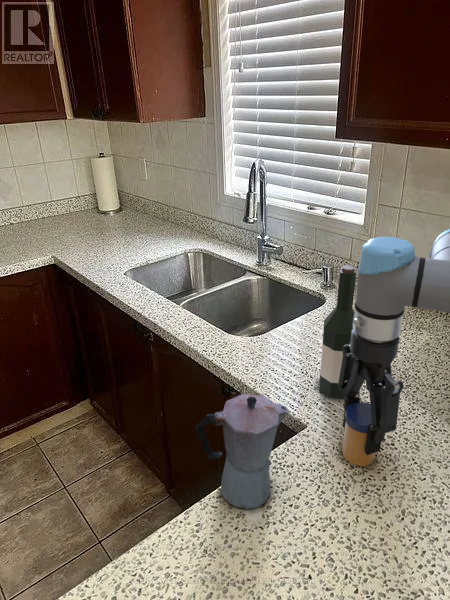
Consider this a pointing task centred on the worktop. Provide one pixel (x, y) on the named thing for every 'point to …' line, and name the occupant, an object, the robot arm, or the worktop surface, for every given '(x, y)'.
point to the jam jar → (356, 447)
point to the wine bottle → (337, 334)
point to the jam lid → (359, 416)
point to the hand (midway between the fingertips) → (360, 438)
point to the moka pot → (245, 447)
